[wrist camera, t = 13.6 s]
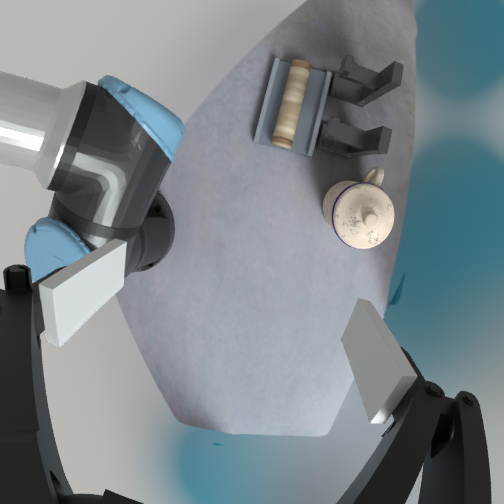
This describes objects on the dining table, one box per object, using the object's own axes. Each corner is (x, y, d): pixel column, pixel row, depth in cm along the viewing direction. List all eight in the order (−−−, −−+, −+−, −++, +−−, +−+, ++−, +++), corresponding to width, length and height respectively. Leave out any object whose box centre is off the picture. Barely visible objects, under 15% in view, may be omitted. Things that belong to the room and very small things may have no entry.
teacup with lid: (357, 243, 46) (381, 267, 35) (310, 218, 46) (324, 236, 34) (389, 180, 43) (423, 187, 32) (344, 152, 42) (368, 149, 31)
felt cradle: (254, 142, 42) (253, 141, 41) (275, 60, 38) (275, 57, 37) (310, 156, 43) (311, 156, 41) (330, 75, 38) (332, 72, 37)
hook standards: (313, 146, 42) (333, 139, 29) (331, 73, 38) (354, 41, 25) (352, 158, 42) (385, 157, 29) (368, 86, 38) (403, 61, 25)
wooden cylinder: (289, 149, 42) (292, 148, 39) (269, 144, 42) (271, 143, 39) (309, 69, 38) (313, 63, 35) (290, 63, 38) (293, 57, 35)
